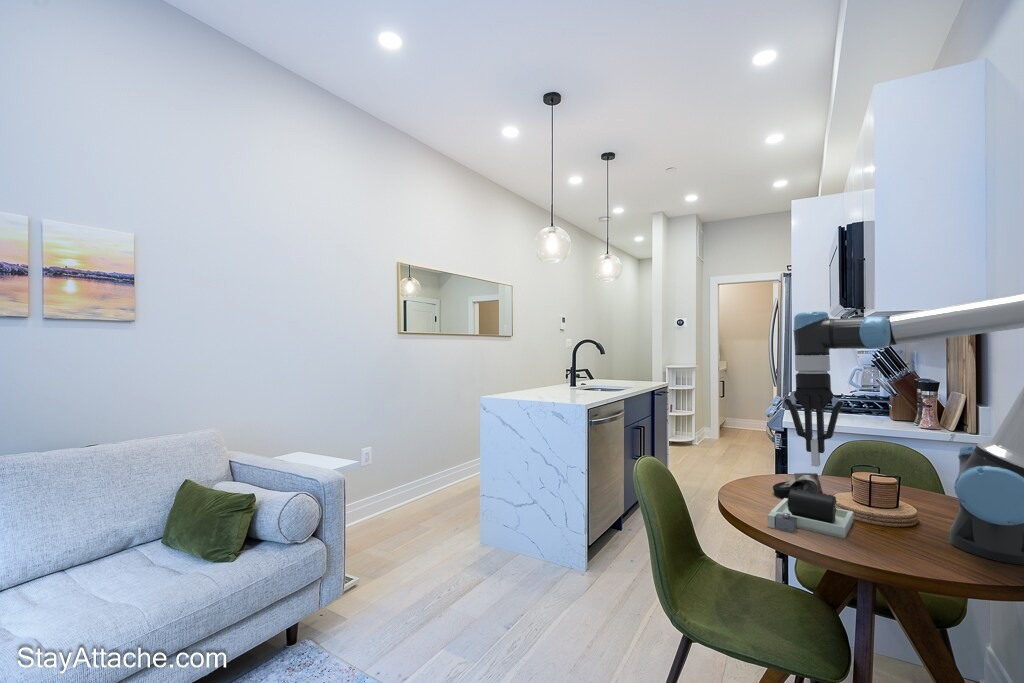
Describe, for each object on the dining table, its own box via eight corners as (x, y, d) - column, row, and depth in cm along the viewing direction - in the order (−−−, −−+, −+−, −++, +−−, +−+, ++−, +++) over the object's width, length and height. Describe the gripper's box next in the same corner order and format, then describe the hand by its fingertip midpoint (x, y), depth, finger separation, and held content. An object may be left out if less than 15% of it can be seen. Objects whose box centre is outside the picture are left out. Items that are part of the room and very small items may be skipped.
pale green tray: (853, 521, 123) (853, 510, 123) (841, 544, 109) (841, 531, 109) (784, 507, 134) (784, 496, 134) (765, 526, 120) (765, 514, 120)
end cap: (787, 517, 124) (787, 491, 124) (794, 510, 129) (794, 485, 129) (832, 527, 117) (832, 500, 117) (838, 520, 122) (838, 494, 122)
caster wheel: (772, 504, 144) (785, 493, 150) (812, 506, 135) (824, 494, 142) (766, 483, 145) (779, 472, 151) (805, 483, 136) (817, 472, 142)
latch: (796, 529, 118) (796, 514, 118) (793, 533, 116) (793, 517, 116) (778, 525, 120) (778, 510, 120) (775, 528, 118) (775, 513, 118)
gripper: (845, 372, 119) (849, 466, 118) (786, 371, 127) (789, 459, 127) (841, 373, 113) (845, 472, 113) (780, 372, 122) (783, 464, 121)
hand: (815, 465), depth 120 cm, fingers closed
